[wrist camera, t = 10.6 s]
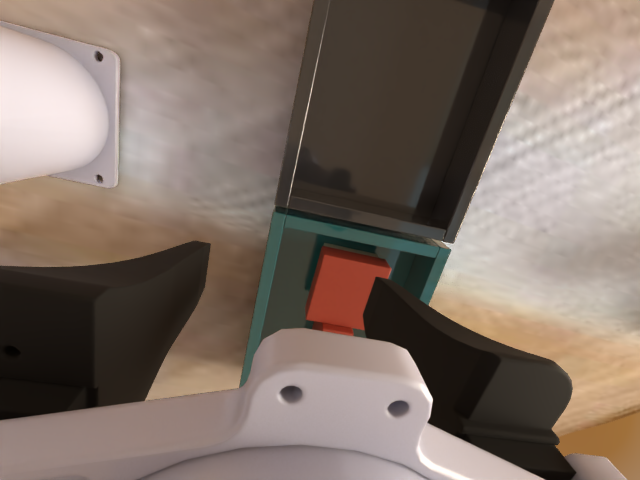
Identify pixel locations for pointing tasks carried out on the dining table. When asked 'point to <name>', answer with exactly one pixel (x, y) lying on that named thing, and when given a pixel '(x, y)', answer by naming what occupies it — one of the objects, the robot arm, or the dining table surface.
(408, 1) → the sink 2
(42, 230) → the dining table surface
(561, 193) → the dining table surface
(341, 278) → the brush
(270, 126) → the dining table surface
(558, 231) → the dining table surface
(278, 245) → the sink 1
